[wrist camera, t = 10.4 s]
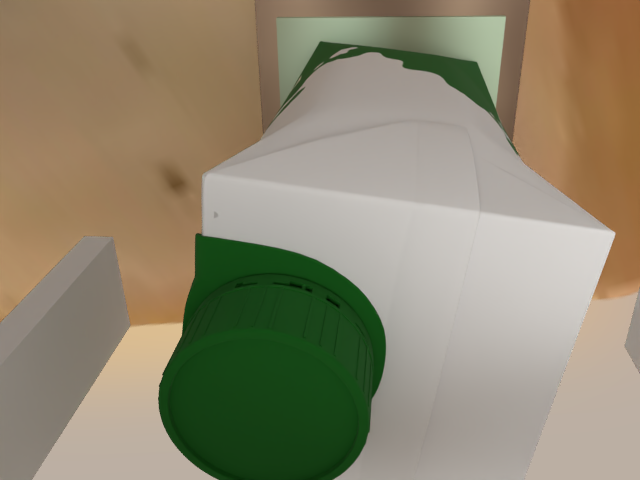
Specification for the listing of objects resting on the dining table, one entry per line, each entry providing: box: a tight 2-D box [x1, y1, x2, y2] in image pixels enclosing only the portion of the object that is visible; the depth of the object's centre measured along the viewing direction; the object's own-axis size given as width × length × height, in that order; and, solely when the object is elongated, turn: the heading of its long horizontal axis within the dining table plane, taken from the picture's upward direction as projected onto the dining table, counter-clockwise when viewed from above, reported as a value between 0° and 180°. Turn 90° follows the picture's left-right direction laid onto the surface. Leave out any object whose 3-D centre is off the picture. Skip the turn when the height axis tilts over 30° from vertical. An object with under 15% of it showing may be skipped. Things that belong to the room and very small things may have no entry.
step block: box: [255, 0, 530, 142], centre depth 32 cm, size 12×12×6 cm
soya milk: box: [158, 41, 615, 480], centre depth 20 cm, size 9×9×20 cm
